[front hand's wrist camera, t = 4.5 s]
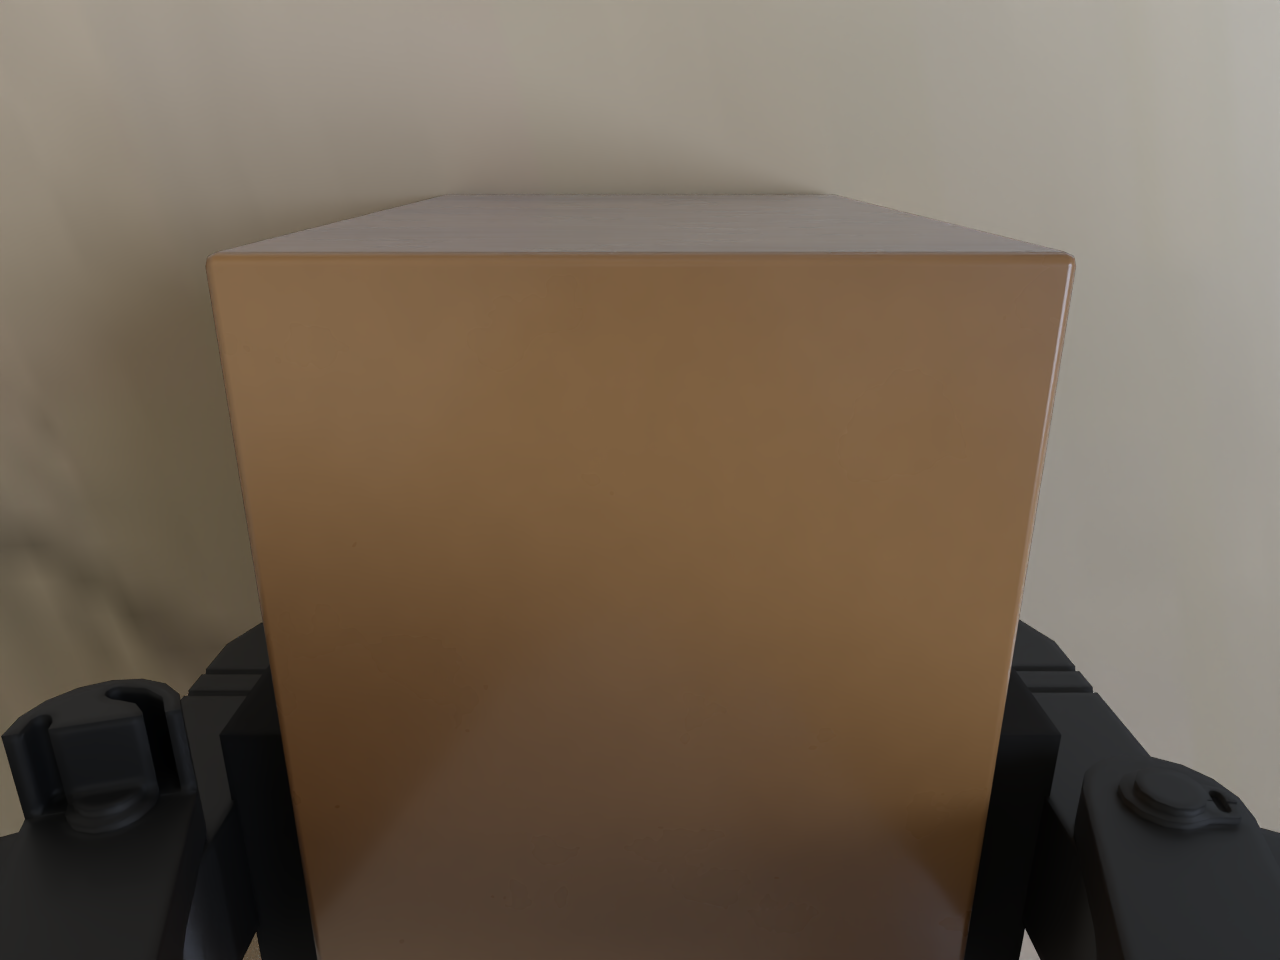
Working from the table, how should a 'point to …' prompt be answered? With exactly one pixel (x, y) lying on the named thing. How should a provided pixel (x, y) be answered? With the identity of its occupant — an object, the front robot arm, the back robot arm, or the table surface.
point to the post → (640, 566)
